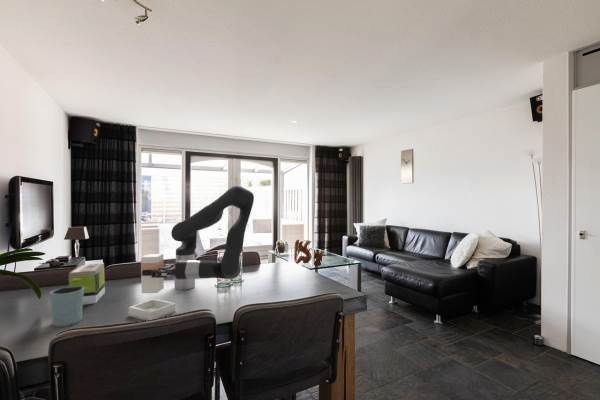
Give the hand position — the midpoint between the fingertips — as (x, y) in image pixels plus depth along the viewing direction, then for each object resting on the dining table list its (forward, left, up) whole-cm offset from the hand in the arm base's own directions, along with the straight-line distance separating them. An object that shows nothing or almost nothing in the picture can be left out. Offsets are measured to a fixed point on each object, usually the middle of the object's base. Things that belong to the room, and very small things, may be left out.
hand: (146, 270), depth 117 cm
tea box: (-39, -1, -18) cm, 43 cm away
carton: (+2, +1, -8) cm, 8 cm away
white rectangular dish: (+2, +1, -17) cm, 17 cm away
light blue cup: (-20, -18, -18) cm, 32 cm away
